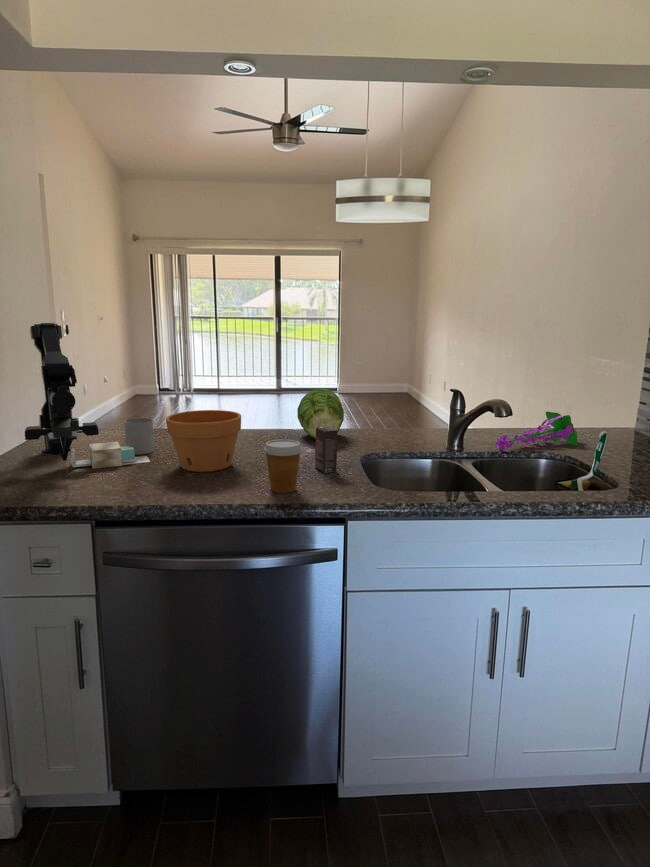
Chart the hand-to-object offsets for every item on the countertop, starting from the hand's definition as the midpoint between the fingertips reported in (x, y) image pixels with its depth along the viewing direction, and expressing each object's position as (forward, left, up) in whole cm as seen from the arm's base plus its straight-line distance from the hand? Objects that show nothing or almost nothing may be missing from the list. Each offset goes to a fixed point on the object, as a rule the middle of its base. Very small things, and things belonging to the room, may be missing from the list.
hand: (64, 460), depth 166 cm
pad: (+13, +13, -2) cm, 19 cm away
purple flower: (+127, +80, -2) cm, 150 cm away
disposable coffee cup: (+66, +5, -2) cm, 66 cm away
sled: (+7, +7, -2) cm, 11 cm away
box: (+70, +26, -2) cm, 74 cm away
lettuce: (+55, +63, -2) cm, 83 cm away
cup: (+8, +24, -2) cm, 25 cm away
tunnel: (+8, +8, -2) cm, 11 cm away
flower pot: (+36, +17, -2) cm, 40 cm away
